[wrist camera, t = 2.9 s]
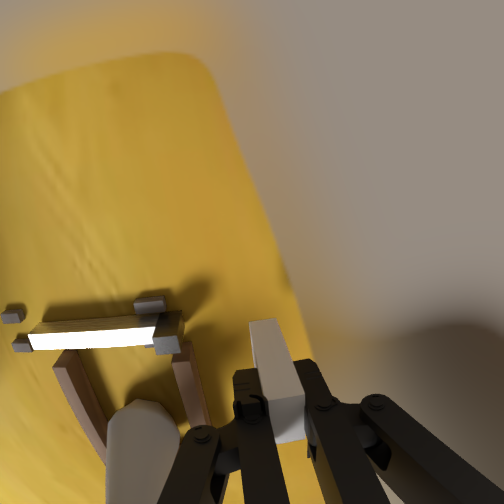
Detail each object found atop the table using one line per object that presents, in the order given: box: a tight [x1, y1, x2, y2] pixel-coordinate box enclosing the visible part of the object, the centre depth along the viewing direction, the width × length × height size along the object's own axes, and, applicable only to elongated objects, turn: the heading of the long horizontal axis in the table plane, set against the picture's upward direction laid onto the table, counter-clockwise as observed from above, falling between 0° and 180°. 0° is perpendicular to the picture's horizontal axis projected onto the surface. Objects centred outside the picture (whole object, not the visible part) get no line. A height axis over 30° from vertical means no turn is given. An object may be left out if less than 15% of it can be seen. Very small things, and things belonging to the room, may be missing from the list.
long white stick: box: [28, 310, 185, 355], centre depth 19 cm, size 12×1×3 cm, turn 95°
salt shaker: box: [106, 399, 180, 504], centre depth 17 cm, size 6×6×13 cm
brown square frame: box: [0, 296, 212, 466], centre depth 21 cm, size 15×16×2 cm
